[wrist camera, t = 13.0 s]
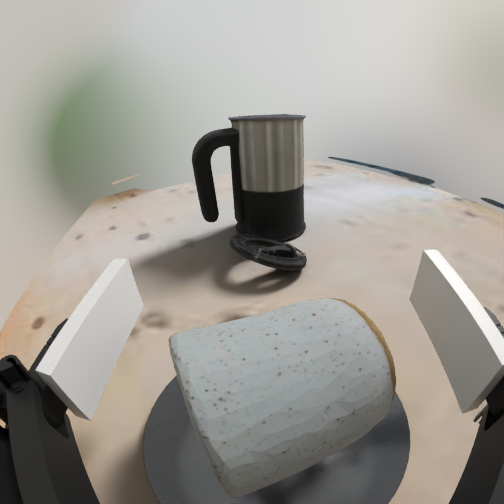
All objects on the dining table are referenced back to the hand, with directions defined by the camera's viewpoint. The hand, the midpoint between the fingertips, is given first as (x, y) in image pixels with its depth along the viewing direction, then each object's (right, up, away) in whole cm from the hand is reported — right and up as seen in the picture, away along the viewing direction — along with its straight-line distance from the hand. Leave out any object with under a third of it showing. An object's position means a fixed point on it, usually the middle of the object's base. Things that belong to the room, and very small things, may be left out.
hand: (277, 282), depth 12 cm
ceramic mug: (0, -8, +2) cm, 8 cm away
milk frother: (+1, +2, +23) cm, 23 cm away
